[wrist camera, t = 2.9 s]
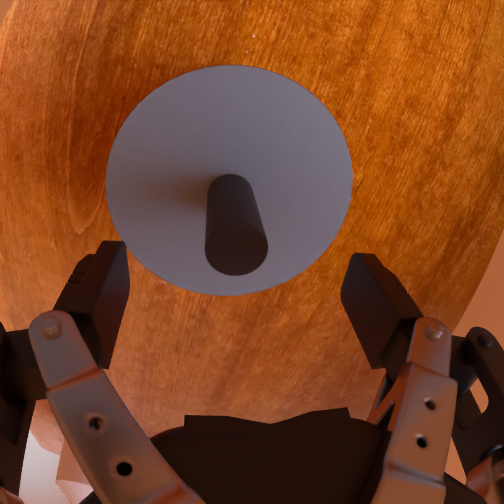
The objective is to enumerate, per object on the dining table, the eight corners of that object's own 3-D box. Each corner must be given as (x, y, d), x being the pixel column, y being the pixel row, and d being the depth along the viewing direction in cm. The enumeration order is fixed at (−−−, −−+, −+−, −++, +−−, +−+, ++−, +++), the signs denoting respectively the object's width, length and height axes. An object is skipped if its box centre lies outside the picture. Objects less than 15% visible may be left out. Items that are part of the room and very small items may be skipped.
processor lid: (120, 280, 20) (96, 355, 14) (111, 64, 13) (53, 64, 7) (318, 287, 22) (348, 359, 16) (365, 88, 15) (437, 105, 9)
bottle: (75, 417, 48) (56, 531, 26) (69, 387, 42) (42, 525, 21) (132, 432, 51) (126, 548, 30) (137, 405, 45) (128, 547, 24)
